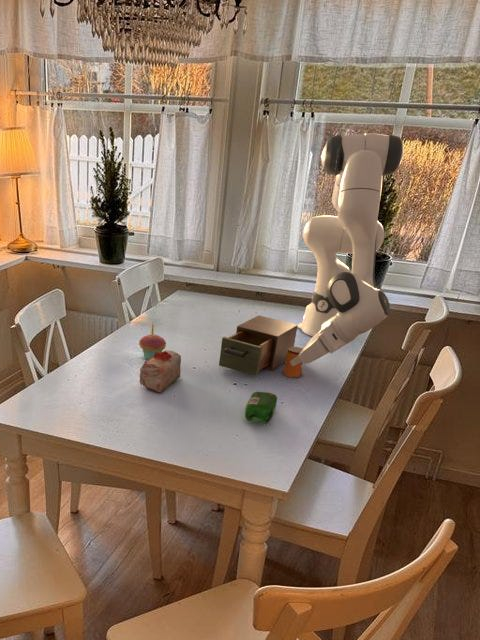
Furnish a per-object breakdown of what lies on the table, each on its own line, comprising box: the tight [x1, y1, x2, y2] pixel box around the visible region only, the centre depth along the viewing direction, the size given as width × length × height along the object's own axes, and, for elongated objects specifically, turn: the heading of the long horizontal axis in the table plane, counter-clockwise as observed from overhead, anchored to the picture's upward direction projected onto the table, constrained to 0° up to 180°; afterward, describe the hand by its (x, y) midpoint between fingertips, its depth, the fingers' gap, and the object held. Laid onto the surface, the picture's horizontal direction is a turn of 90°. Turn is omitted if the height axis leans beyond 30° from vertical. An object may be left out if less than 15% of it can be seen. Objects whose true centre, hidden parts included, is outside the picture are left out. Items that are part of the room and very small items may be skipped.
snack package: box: [244, 390, 278, 424], centre depth 173 cm, size 7×16×5 cm, turn 161°
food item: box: [139, 349, 182, 393], centre depth 187 cm, size 14×8×10 cm, turn 151°
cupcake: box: [138, 322, 167, 360], centre depth 205 cm, size 9×8×12 cm
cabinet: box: [235, 315, 299, 371], centre depth 208 cm, size 15×14×11 cm
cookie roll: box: [283, 346, 304, 378], centre depth 198 cm, size 5×5×8 cm
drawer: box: [218, 330, 274, 377], centre depth 199 cm, size 18×13×9 cm
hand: (295, 358), depth 198 cm, fingers open, 8 cm apart
